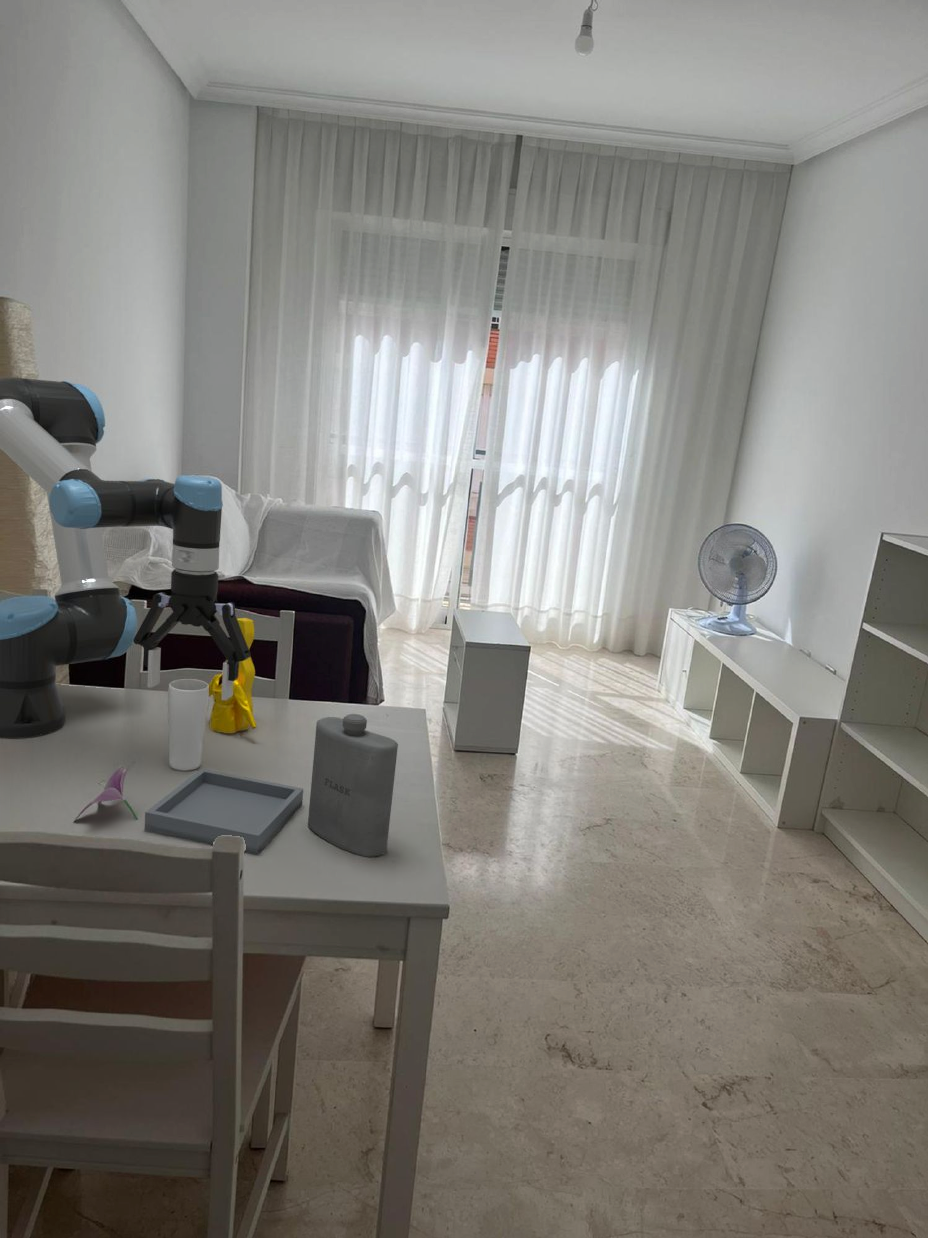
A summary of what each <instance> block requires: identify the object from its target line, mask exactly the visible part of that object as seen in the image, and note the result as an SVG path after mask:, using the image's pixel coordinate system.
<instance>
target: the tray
mask: <svg viewBox="0 0 928 1238" xmlns="http://www.w3.org/2000/svg"><path fill="white" fill-rule="evenodd" d="M303 797H304V788H303V787H296V786H292V785H289V784H288V785H287V784H283V783H278V782H272V781H268V780H262V779H257V778H251V777H246V776H242V775H237V774H236V775H235V774H231V773H226V772H221V771H217V770H211V769H205V768H200V769H199V770H198V771H196V772H195V773H194V774H192V775H191V776H190V777H189V778H187V779H186V780H185V781H183V782H182V783H181V784H180V785H179V786H177V787H175V789H173V790H172V791H170V792H169V793H168V794H167V795H166V796H164V797H163V798H162V799H160V800H159V801H158V802H157V803H155V804H154V805H152V806H151V807H149V809H148V810H146V811H144V831H145V832H149V833H154V834H158V835H164V836H168V837H174V838H177V839H183V840H188V841H193V842H197V843H202V844H205V845H206V844H207V845H210V844H211V846H214V845H213V842H214V841H215V839H216V838H217V837H218V836H221V835H232V836H240V837H243V838H244V840H245V844H246V850H245V852H244V853H249V854H252V855H253V854H254V855H259V854H260V852H261V851H262V850H264V848H265V847H266V846H267V845H268V844H269V842H271V840H272V839H273V838H274V837H276V835H277V834H278V833H279V832H280V831H281V829H283V828H284V826H285V825H286V824H287V823H288V821H290V819H291V818H292V817H293V816H294V815H295V814H296V813H297V812H298V811H299V810H300V808H301V807H302V806H303V799H304V798H303Z"/></svg>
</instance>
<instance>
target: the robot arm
mask: <svg viewBox="0 0 928 1238" xmlns="http://www.w3.org/2000/svg"><path fill="white" fill-rule="evenodd" d="M105 427H106V418H105V413H104V410H103V406H102V403H101V401H100V400H99V398H98V396H97V395H96V393H95V392H94V391H93V390H91V389H90V388H89V387H87V386H85V385H83V384H79V383H73V382H69V381H65V380H62V381H57V380H56V381H53V380H46V379H45V380H44V379H35V378H34V379H33V378H21V377H19V376H18V377H15V376H14V377H13V376H5V377H0V451H2V452H3V453H5V454H6V455H7V456H8V457H9V458H10V459H11V460H12V461H13V462H14V464H16V465H17V466H18V467H19V468H21V469H22V470H23V472H25V473H26V475H27V476H28V477H30V478H31V479H32V480H33V481H34V482H35V483H36V484H37V485H38V486H39V487H40V488H41V489H42V490H43V491H44V492H45V493H46V496H47V501H48V502H47V503H48V509H49V515H50V520H51V526H52V533H53V539H54V540H53V541H54V545H55V546H54V547H55V552H56V558H57V565H58V571H59V578H60V584H61V586H60V587H59V588H58V590H57V591H56V593H54V598H53V597H50V596H46V595H39V594H38V595H37V594H36V595H21V596H20V595H18V596H14V597H9V598H6V599H3V600H0V738H5V739H7V738H8V739H9V738H10V739H18V738H22V739H23V738H24V739H25V738H33V737H39V736H43V735H48V734H51V733H53V732H56V731H58V730H60V729H61V728H62V727H63V726H65V723H66V709H65V706H64V705H63V702H62V698H61V695H60V692H59V690H58V687H57V681H56V679H57V678H56V677H57V676H56V674H57V673H56V672H57V667H58V666H64V665H71V664H78V663H85V662H86V663H87V662H93V661H105V660H108V659H111V658H116V657H120V656H122V655H124V654H125V653H127V652H128V651H129V650H130V649H131V647H132V646H133V643H134V644H135V645H140V646H141V647H142V648H143V665H144V667H146V668H147V683H146V684H147V688H150V689H152V688H153V687H155V686H156V687H157V686H158V685H160V679H161V678H160V675H161V652H162V651H161V650H162V648H161V647H159V646H158V645H159V643H160V642H161V641H162V640H163V639H164V638H165V637H166V636H167V635H168V634H169V632H171V630H173V628H175V626H176V625H178V623H181V625H183V626H184V625H185V626H187V625H191V626H193V627H201V626H202V628H203V629H204V630H205V631H206V632H207V633H208V634H209V636H210V637H211V638H212V640H213V641H214V643H215V644H216V646H217V647H218V649H219V650H220V651H221V653H222V655H223V656H224V658H225V659H226V660H228V661H226V660H225V661H226V662H225V661H223V663H222V673H223V678H222V697H221V700H227V699H229V698H230V697H232V694H233V681H235V680H236V679H237V678H238V674H239V662H240V661H244V660H246V659H248V658H249V657H251V651H250V649H249V648H248V646H247V643H246V641H245V638H244V636H243V633H242V631H241V628H240V626H239V623H238V621H237V619H238V618H237V616H236V605H235V603H234V602H232V601H231V602H228V603H219V602H218V598H217V595H218V591H219V589H218V588H219V586H218V585H219V574H218V573H217V570H219V569H220V544H221V543H220V541H221V529H222V528H221V526H222V513H223V506H224V503H223V493H222V492H223V491H222V490H223V487H222V483H221V481H220V480H219V479H217V478H214V477H209V476H208V477H207V476H201V475H188V474H187V475H179V476H178V477H176V478H175V482H174V483H173V482H168V481H165V480H163V479H160V478H157V479H155V478H142V479H140V480H104V479H101V478H100V477H99V476H98V475H96V474H95V473H94V472H93V470H92V465H91V464H92V463H91V457H92V456H93V455H94V454H95V453H96V451H97V444H99V443H100V442H101V441H102V439H103V437H104V434H105V429H104V428H105ZM123 527H125V528H126V527H127V528H128V527H129V528H130V527H131V528H132V527H164V528H168V529H171V530H172V551H171V552H172V556H171V566H172V568H173V570H172V571H171V576H170V579H171V580H170V591H171V594H170V595H167V593H166V592H164V591H161V592H159V593H156V594H155V593H154V594H153V595H152V598H151V599H152V601H151V606H150V608H149V610H148V612H147V614H146V616H145V618H144V619H143V621H142V623H141V624H140V627H138V619H137V617H138V616H137V612H136V609H135V607H134V605H133V603H132V602H131V600H130V599H129V598H127V597H124V596H122V595H121V594H120V587H119V586H118V585H117V584H115V583H114V582H112V581H111V580H110V577H109V572H108V571H109V570H108V565H107V564H108V563H107V559H106V558H107V557H106V551H105V546H104V540H103V533H102V528H123ZM168 605H169V608H170V609H171V611H172V613H171V614H170V615H168V617H167V618H166V619H165V621H164V622H163V623H162V624H161V625H160V626H159V627H158V628H157V629H156V630H155V631H154V632H153V629H154V628H155V626H156V624H157V622H158V620H159V619H160V616H161V615H162V613H163V611H164V608H165V607H167V606H168ZM217 612H218V613H219V616H220V617H222V622H223V624H224V626H225V629H226V632H225V630H224V629H223V628H222V626H221V625H220V623H221V622H220V620H219V619H218V618H217V616H216V613H217ZM137 627H138V628H137ZM137 629H138V630H137ZM152 632H153V633H152ZM151 633H152V634H151ZM228 636H229V637H228Z"/></svg>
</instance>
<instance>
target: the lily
mask: <svg viewBox="0 0 928 1238" xmlns="http://www.w3.org/2000/svg"><path fill="white" fill-rule="evenodd" d="M140 758H141V756H139V757H138V758H136V759H135V760H134V761H132V763H130V764H129V766H127V767H125V769H123V765H122V764H121V765H120V766H119V767H118V768H117V769H115V771H114V772H113V773H112V774H111V775H110V777H109V778H108V779H107V781H106V782H105V780H104V779H103V780H102V781H100V783H101V785H102V786H104V788H103V789H104V790H103V791H101V792H100V794H98V796H97V797H96V798H95V799H94V800H93V801H92V802H89V804H87V805H85V807H84V808H83V809H82V810H81V811H80V812H79V814H77V816H76V817H75V819H74V821H73V822H75V821H76V820H77V819H79V817H80V816H81V815H82V814H83V813H84V812H85V811H86V810H87V809H88V808H89V807H91V806H92V805H93V804H95V803H96V804H97V805H98V806H100V805H101V804H102V803H104V802H109V801H118V800H122V802H124V804H125V805H126V806H127V808H128V809H129V811H130V812H131V814H132V815H133V817H134V819H135V820H136V821H138V820H139V819H138V817H137V814H136V813H135V811H134V809H133V808H132V806H131V805H130V804H129V802H128V801H127V800H126V799H125V797H124V784H125V778H126V775H127V774H128V772H129V770H131V768H132V767H133V765H134V764H136V763H137V761H138V760H139V759H140ZM100 783H99V782H98V783H97V784H98V785H100Z"/></svg>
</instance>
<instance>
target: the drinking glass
mask: <svg viewBox="0 0 928 1238" xmlns="http://www.w3.org/2000/svg"><path fill="white" fill-rule="evenodd" d="M209 701H210V697H209V683H207V681H204V680H201V679H194V678H182V679H180V678H179V679H175V680H172V681H170V682H169V683H168V692H167V727H168V728H167V729H168V750H169V751H168V752H169V753H168V754H169V756H168V763H169V766H170V767H171V768H172V769H174V770H176V771H181V772H182V771H186V772H187V771H194V770H196V769H198V768H199V767H200V766H201V764H202V752H203V745H204V738H205V731H206V724H207V719H208V711H209Z"/></svg>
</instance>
